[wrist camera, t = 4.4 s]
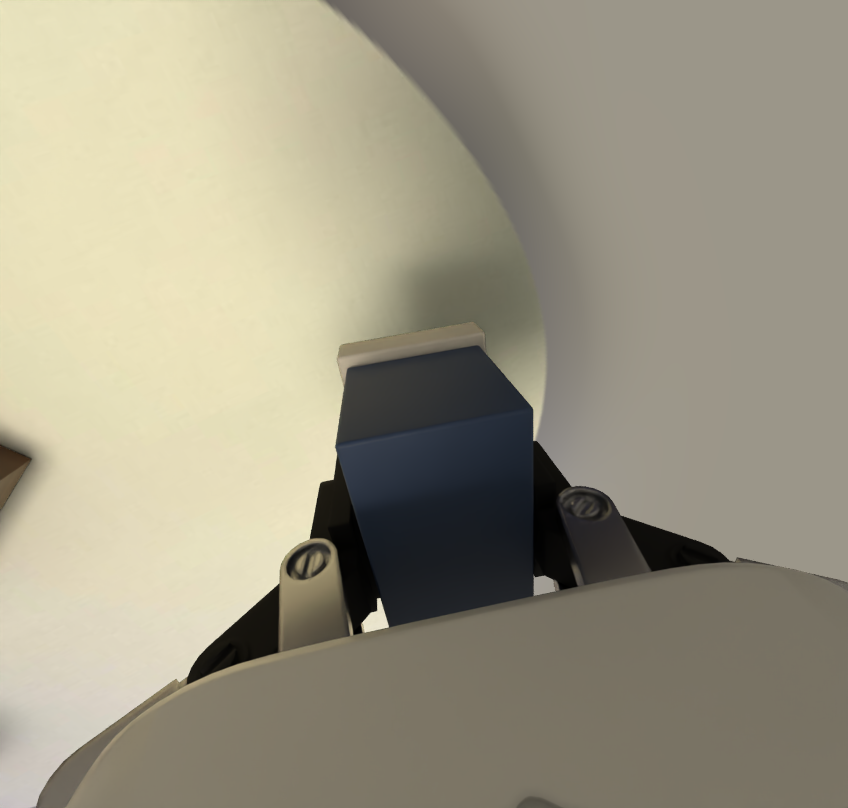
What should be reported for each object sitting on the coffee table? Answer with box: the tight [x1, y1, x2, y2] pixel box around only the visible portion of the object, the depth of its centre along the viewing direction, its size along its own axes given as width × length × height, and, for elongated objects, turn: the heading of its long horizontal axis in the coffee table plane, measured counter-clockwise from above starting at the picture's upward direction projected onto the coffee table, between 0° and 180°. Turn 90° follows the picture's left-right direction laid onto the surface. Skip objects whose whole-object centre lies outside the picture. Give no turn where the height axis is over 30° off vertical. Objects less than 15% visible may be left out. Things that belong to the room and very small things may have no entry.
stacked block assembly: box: [335, 322, 534, 627], centre depth 11 cm, size 9×4×5 cm, turn 8°
